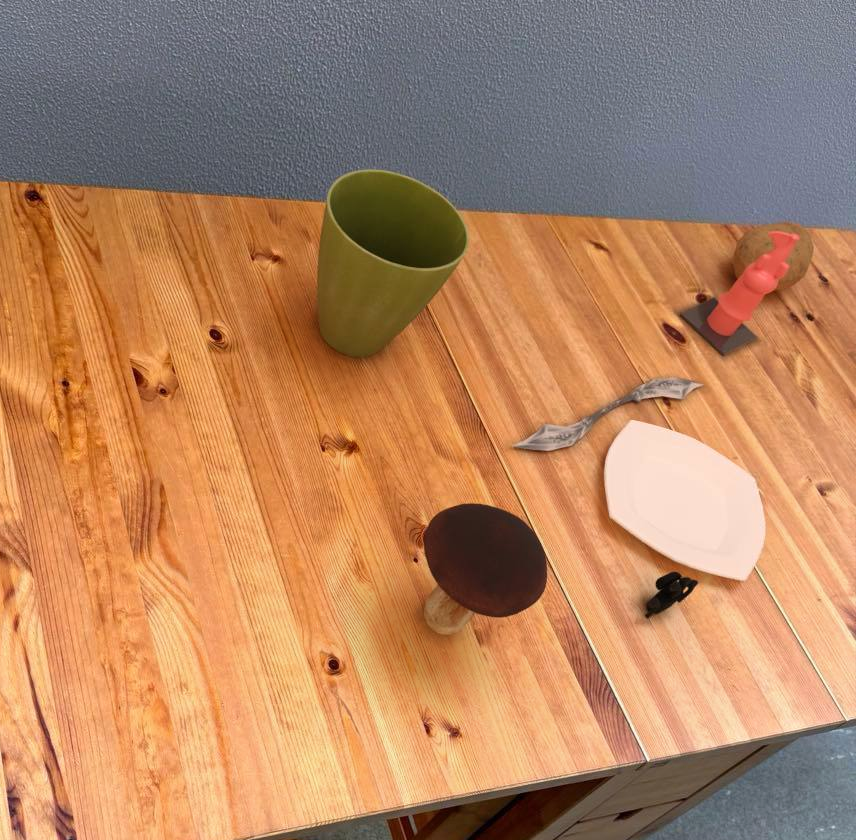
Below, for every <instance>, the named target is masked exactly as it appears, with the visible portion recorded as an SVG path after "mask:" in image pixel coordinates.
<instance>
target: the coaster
mask: <svg viewBox="0 0 856 840" xmlns="http://www.w3.org/2000/svg"><path fill="white" fill-rule="evenodd" d="M718 304H719V303H718V299H716V298H715V297H712V298H710V299H707V300H706V301H703V302H701V303H699V304H697V305H695V306H692V307H690V308H689V309H686V310H684V311H682V312H680V313H679V316H680V317H681V318H682V319H683V320H684V321H685V322H686V323H687V324H688V325H689V326H690V327H692V329H694V330H695V331H696V332H697V333H698V334H699V335H700V336H701V337H702V338H703V339H704V340H705V341H707V343H709V344H710V345H711V346H712V347H713V348H714V349H715V350H716V352H718V353H719V354H720V355H721V356H722V357H725V356H726V355H728V354H730V353H732V352H734V351H736V350H738V349H740V348H742V347H744V346H746V345H748V344H750V343H751V342H753V341H755V340H756V339H757V338H758V336H757V335H756V334H754V333H753V332H752V330H750V329H749V328H748V327H747V326H746V325H745V324H744V323H743V322H742V323H741V325H740V326H739V327H738V328H737V329H736V331H735V332H734V333H733V334H732V335H730V336H724V335H721V334H719V333H717V332H715V331H714V330H713V329H712V328H711V327H710V326H709V324H708V321H707V318H708V316H709V315H710V314H711V313H712V311H713V310H714V309H715V308H716V306H717V305H718Z"/></svg>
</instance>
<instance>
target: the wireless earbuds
mask: <svg viewBox="0 0 856 840" xmlns="http://www.w3.org/2000/svg"><path fill="white" fill-rule="evenodd" d="M698 584H699V581H698V580H697V579H692V578H691V577H689V576H682V574H681V573H680V572H678V571H671V572H669V573H666V574H664V575H662V576H660V577H658V578H657V579H656V580H655V583H654V586H655V589H656V590H658V592H657V593H656V594H654V595H653V596H652V597H651V598H650V599H649V600H648V601H647V602H646V604H645V605H646V606H645V608H646V610H647V612H646V613H645V615H644V618H645V619H650V618H651V616H653V615H658V614H660V613H662V612H663V611H666V610H668V609H670V608H672V606H673V605H674V604H676V603H678V604H680V603H682V602H683V601H684V600H685V599H686V598H688V597H689V595H690V594H691V593H692V592H693V591H694V589H695V588H696V586H698Z"/></svg>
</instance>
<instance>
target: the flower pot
mask: <svg viewBox="0 0 856 840" xmlns="http://www.w3.org/2000/svg"><path fill="white" fill-rule="evenodd" d="M324 206H325V207H324V212H323V216H322V223H321V229H320V237H319V245H318V257H317V272H316V273H317V274H316V275H317V276H316V279H317V280H316V294H317V296H316V298H317V300H316V301H317V315H318V327H319V332H320V334H321V337H322V338H323V340H324V341H325V343H326V344H328V345H329V347H331V348H332V349H334V351H336V352H338V353H340V354H343V355H345V356H348V357H352V358H358V359H359V358H360V359H361V358H369V357H372V356H374V355H376V354H377V353H378V352H381V350H383V349H384V348H385V347H386V346H387V345H388V344H390V343H391V342H392V341H393V340H394V339H395V338H397V336H399V335H400V334H401V333H402V332H403V331H404V330H406V328H407V327H408V326H409V325H410V324H411V323H412V322H413V321H414V320H415V319H416V318H417V317H418V316H419V315H420V314H421V313H422V311H424V310H425V308H426V307H427V306H428V305H429V304H430V302H432V300H433V299H434V298H435V296H436V295H438V293H439V292H440V290H441V289H442V288H443V287H444V285H445V284H446V283H447V281H448V280H449V278H450V277H451V276H452V274H453V273H454V272H455V270H456V269H457V267H458V266H459V264H460V262H461V261H462V260H463V258H464V256H466V254H467V252H468V249H469V245H470V234H469V229H468V226H467V223H466V221H465V220H464V217H462V214H461V213H460V211H459V210H458V209H457V208H456V207H455V206H454V205H453V204H452V202H450V201H449V200H448V199H447V198H446V197H445V196H444V195H443V194H441V193H440V192H438V191H437V190H436V189H434V188H432V187H431V186H430V185H427V184H426V183H424V182H422V181H420V180H418V179H415V178H413V177H411V176H407V175H405V174H402V173H398V172H394V171H390V170H384V169H372V168H371V169H359V170H355V171H351V172H348V173H345V174H343V175H342V176H340V177H338V178H337V179H336V180H335V181H334V182H333V183H331V186H330V187H329V189H328V192H327V196H326V200H325V205H324Z"/></svg>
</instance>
